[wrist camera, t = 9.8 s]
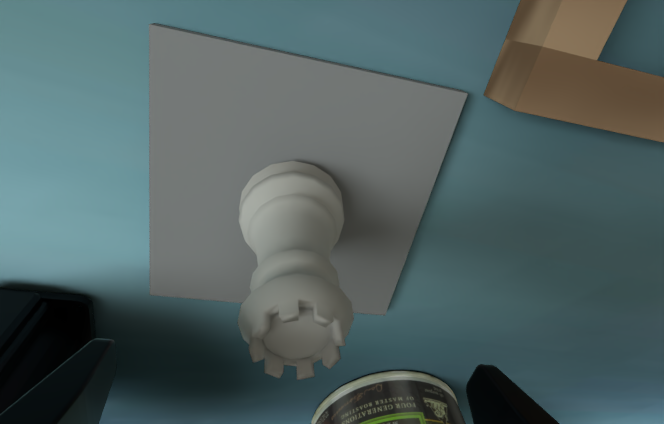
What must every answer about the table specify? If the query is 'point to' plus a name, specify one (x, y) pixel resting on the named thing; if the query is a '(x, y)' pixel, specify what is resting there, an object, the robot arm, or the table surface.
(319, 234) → the rook chess piece
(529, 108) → the brown wooden frame
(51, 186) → the table surface
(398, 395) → the coffee can
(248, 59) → the grey mat
